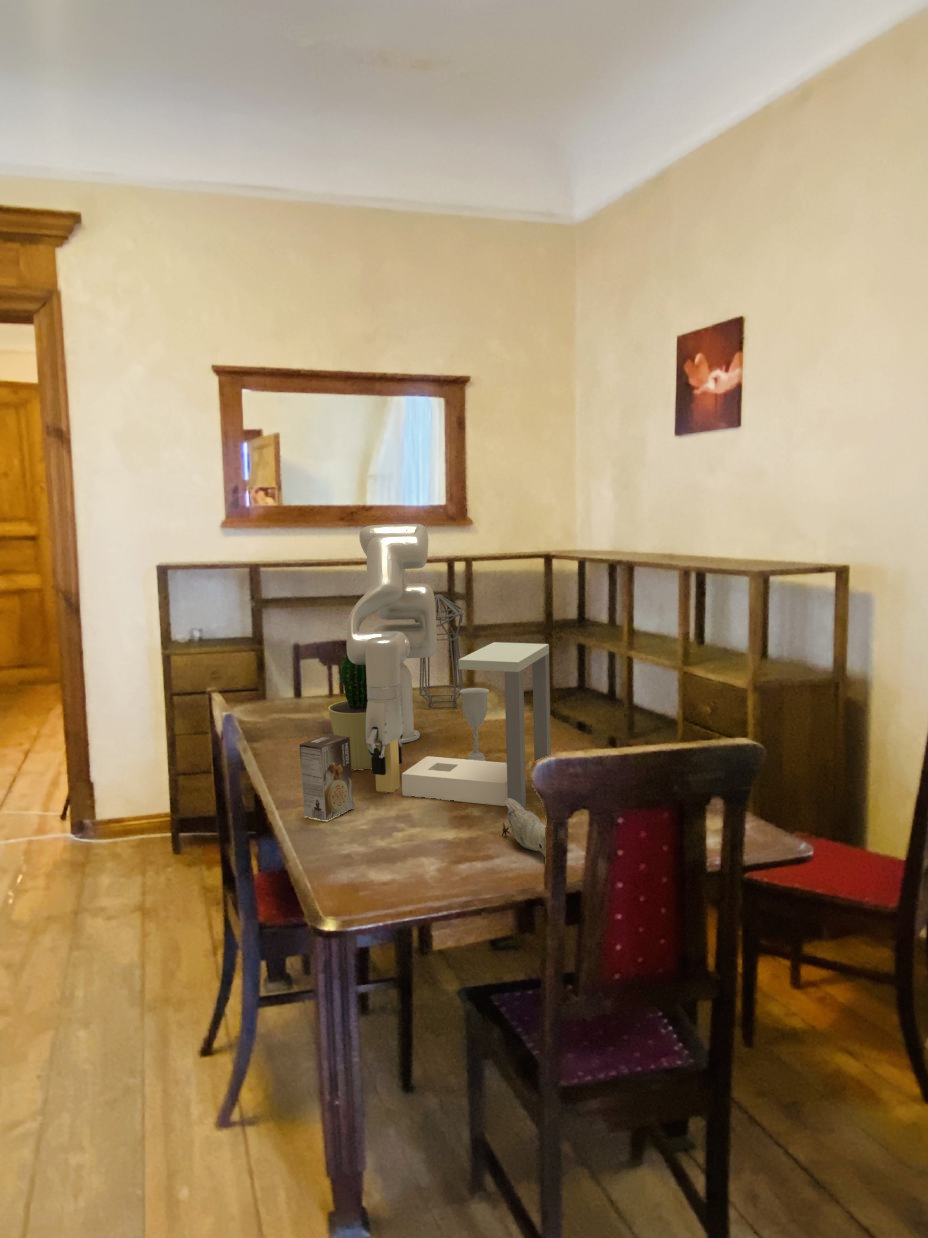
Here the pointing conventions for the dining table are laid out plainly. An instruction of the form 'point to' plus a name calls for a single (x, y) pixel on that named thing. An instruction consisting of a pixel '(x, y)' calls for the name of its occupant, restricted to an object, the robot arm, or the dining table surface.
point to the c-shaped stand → (519, 703)
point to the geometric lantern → (456, 649)
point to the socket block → (457, 780)
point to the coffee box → (326, 776)
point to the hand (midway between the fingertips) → (387, 768)
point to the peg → (389, 768)
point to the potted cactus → (353, 713)
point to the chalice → (475, 715)
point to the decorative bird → (525, 827)
